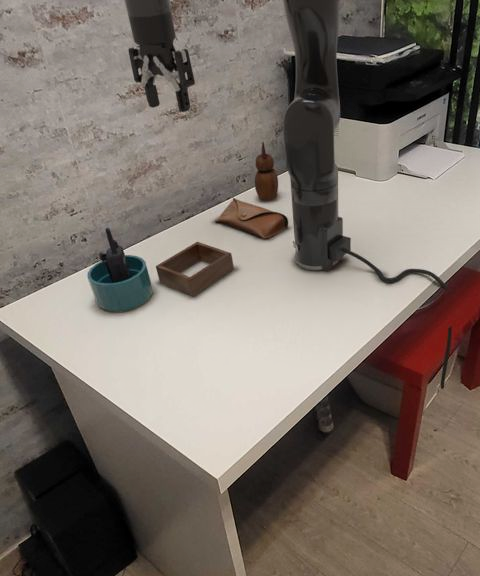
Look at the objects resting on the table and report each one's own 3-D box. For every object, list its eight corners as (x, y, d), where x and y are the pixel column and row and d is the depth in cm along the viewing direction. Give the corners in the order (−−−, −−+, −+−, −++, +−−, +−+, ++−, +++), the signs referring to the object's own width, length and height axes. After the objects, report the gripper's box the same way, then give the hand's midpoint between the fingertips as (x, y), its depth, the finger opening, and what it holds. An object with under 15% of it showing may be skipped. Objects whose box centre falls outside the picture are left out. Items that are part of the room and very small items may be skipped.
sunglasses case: (211, 220, 130) (218, 193, 128) (230, 224, 136) (237, 198, 134) (266, 239, 121) (273, 210, 119) (284, 243, 126) (291, 215, 125)
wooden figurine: (275, 203, 137) (270, 144, 127) (254, 202, 138) (247, 144, 128) (281, 192, 142) (276, 135, 132) (260, 192, 143) (254, 135, 133)
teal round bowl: (164, 291, 107) (157, 264, 103) (121, 319, 101) (111, 291, 96) (129, 276, 113) (121, 249, 109) (86, 302, 106) (75, 274, 102)
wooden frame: (234, 269, 112) (231, 253, 110) (193, 296, 105) (189, 279, 102) (200, 257, 117) (197, 241, 115) (159, 282, 110) (155, 266, 108)
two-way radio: (135, 299, 105) (114, 230, 95) (112, 303, 104) (89, 234, 94) (135, 285, 109) (115, 218, 99) (114, 289, 108) (91, 221, 99)
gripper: (193, 8, 91) (209, 107, 102) (138, 7, 98) (159, 100, 109) (160, 15, 87) (181, 118, 97) (106, 13, 94) (130, 110, 104)
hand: (169, 108), depth 103 cm, fingers open, 8 cm apart
